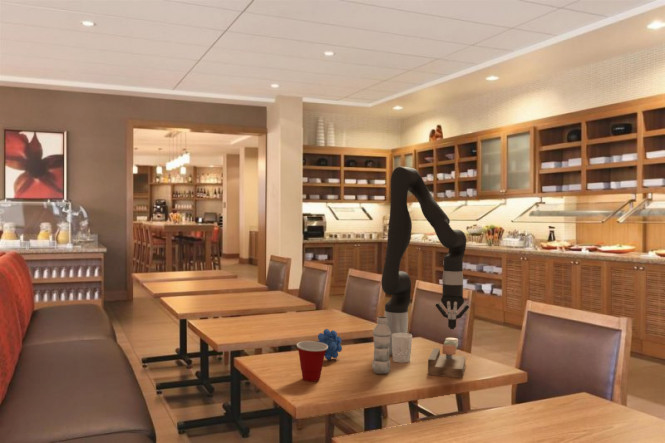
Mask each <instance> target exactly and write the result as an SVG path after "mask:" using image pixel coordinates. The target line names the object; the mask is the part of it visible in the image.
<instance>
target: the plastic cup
mask: <svg viewBox="0 0 665 443" xmlns="http://www.w3.org/2000/svg"><path fill="white" fill-rule="evenodd" d="M296 347H297V352H298V356H299V364H300V370H301V375H302V377H301V378H302V380H303V381H304V382H308V383H309V382H311V383H312V382H313V383H314V382H319V381H320V379H321V374H322V371H323V365H324V360H325V353H326V350H327V349H328V346H327V345H326V344H324V343H320V342H317V341H314V340H313V341H312V340H305V341H304V340H303V341H299V342H297V343H296Z"/></svg>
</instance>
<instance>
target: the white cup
mask: <svg viewBox="0 0 665 443" xmlns="http://www.w3.org/2000/svg"><path fill="white" fill-rule="evenodd" d="M412 342H413V335H412V333H408V332H407V333H393V334H392V353H393V356H392V361H393V362H395V363H400V364H401V363H402V364H403V363H410V362H411V354H412Z"/></svg>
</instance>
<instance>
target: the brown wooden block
mask: <svg viewBox="0 0 665 443" xmlns="http://www.w3.org/2000/svg"><path fill="white" fill-rule="evenodd" d="M440 352H441V348H440V347H439V348H438V347H433V348H432V350H431V352H430V354H429V356H428V359H427V375H429V376H438V377H439V376H441V377H451V378H458V379H459V378H461V379H462V378H463V377H464V373H465V368H466V356H461V355H460V356H459V355H452V359H446V354H441V353H440Z"/></svg>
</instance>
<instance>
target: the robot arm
mask: <svg viewBox="0 0 665 443" xmlns="http://www.w3.org/2000/svg"><path fill="white" fill-rule="evenodd" d="M408 192H409V193H411V194H412V195H413V196H414V198H416V200H417V201H418V203H419V206H420V209H421V212H422V215H423V216H424V218H425V219H426V221H427V222H428V223H429V225H430V226H431V227H432V229H433V230H434V233H435V235H436V237H437V239H438V241H439V242H440V244H441V245H442V246H443V247H445V248H446V249H448V253H447V254H446V255H445V256H444V257H443V271H442V272H443V273H442V280H441V282H442V292H441V293H442V296H441V298H440V300H439V301H438V302H437V303H435V307H436V309H438V311H439V312H440V314H441V315H442V316H443V317H444V318H446V319H447V321H448V323H447V325H448V328H449V329H450V330H455V329H456V327H457V319H460V318H462V317H463V316H464V314H465V313H466V312H467V311H468V310H469V309H470V304H468V303H466V302H465V298H464V275H463V274H464V273H463V270H464V268H463V267H464V265H463V262H464V256H465V252H466V247H467V237H466V236H467V235H466V234H465V232H464V231H463V230H461V229H453V228H452V227H451V225H450V222H451V221H450V218H449V216H448V215H447V214H446V213H445V211H444V210H443V208H442V207H441V206H440V205H439V204H438V203H437V201H436V199H435V198H434V197H433V195H432V193H431V192H430V190H429V189H428V187H427V185H426V183H425V181H424V179H423V178H422V176H421V175H420V171H419V170H417V169H416V168H413V167H409V166H398V167H396V168H394V170H393V171H392V173H391V176H390V206H389V207H390V208H389V219H388V220H389V221H388V230H387V242H386V251H385V261H384V264H383V269H382V275H381V289H382V291H383V293H384V294H386V295H387V296H391V298H390V300H388V301H387V302H386V303H385V305H384V317H387V325H388V327H389V329H390V331H391V335H390V342H389V356H392V357H393V353H392V334H393V333H408V319H409V318H408V317H409V314H408V312H409V307H410V303H411V295H412V294H411V292H412V281H411V277H410V275H409V274H408V273H407V272H406V271H402V270H400V266H401V261H402V260H403V257H404V254H405V253H406V251H407V249H408V247H409V245H410V243H411V238H412V227H413V225H412V224H413V222H412V219H411V216H410V215H411V214H410V211H409V208H408ZM443 307H444V308H445V309H446V310H447V312H446V311H445V309H444V308H443ZM461 307H462V309H461V311H459V313H458V310H459V309H460V308H461ZM452 311H453V312H452ZM457 313H458V314H457Z"/></svg>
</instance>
